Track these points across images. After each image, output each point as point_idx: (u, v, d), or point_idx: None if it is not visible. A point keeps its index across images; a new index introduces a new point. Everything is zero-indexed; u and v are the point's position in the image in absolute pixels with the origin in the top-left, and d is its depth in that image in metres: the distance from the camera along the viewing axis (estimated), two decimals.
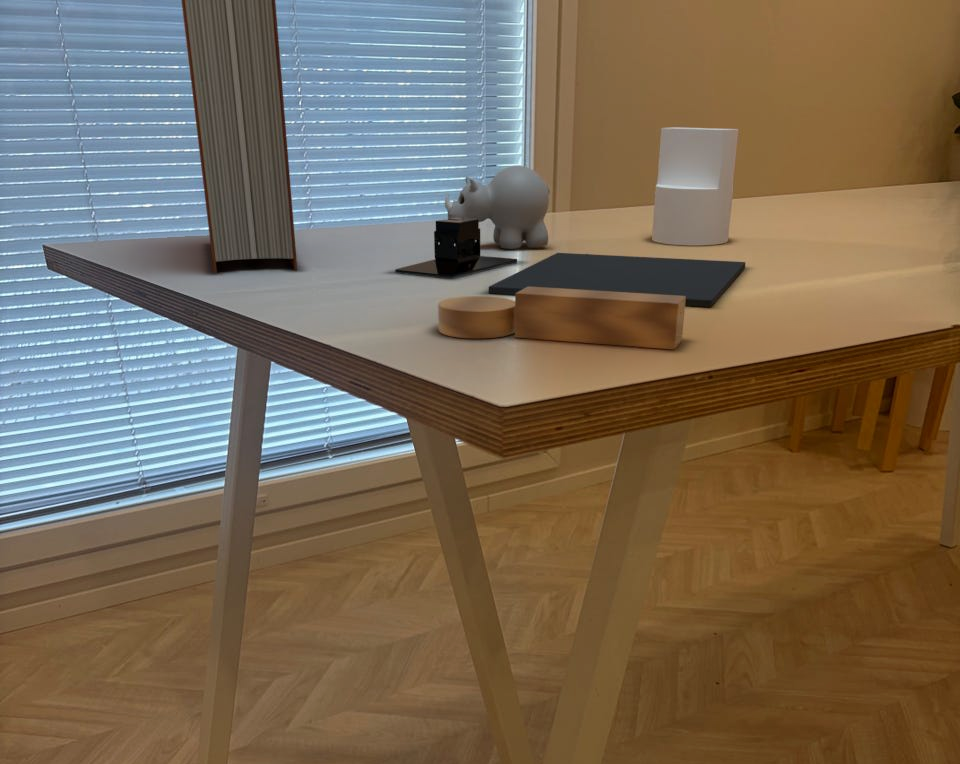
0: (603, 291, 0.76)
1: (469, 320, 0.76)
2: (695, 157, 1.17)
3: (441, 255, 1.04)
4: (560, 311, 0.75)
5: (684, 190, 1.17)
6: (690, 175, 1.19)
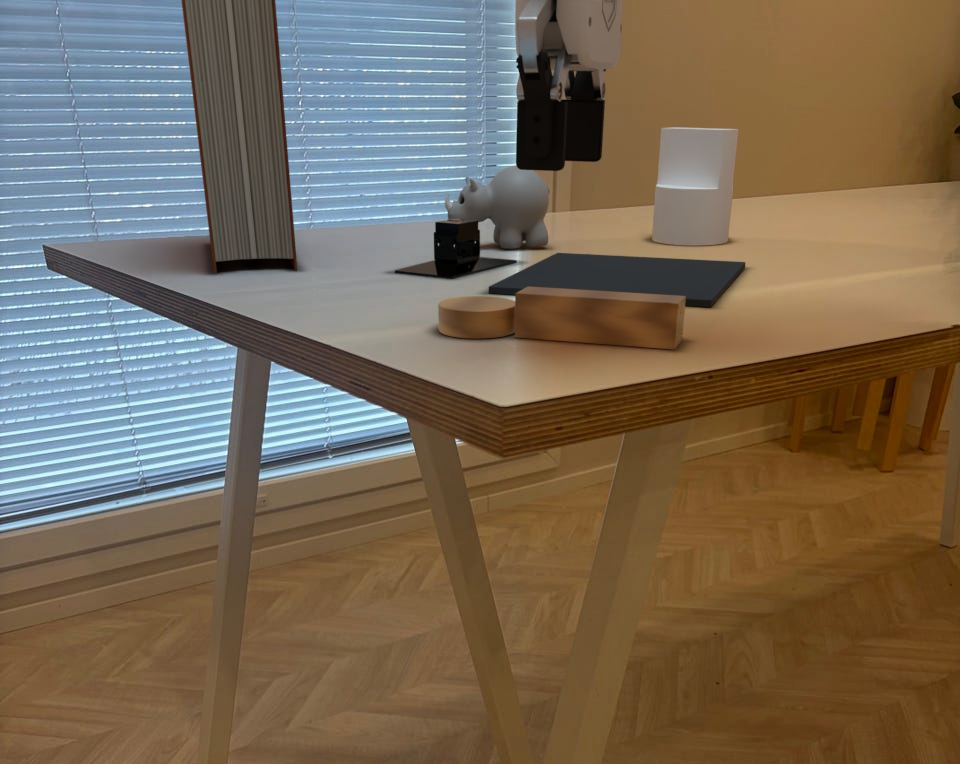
0: (603, 291, 0.76)
1: (469, 320, 0.76)
2: (695, 157, 1.17)
3: (440, 257, 1.04)
4: (560, 311, 0.75)
5: (684, 190, 1.17)
6: (690, 175, 1.19)
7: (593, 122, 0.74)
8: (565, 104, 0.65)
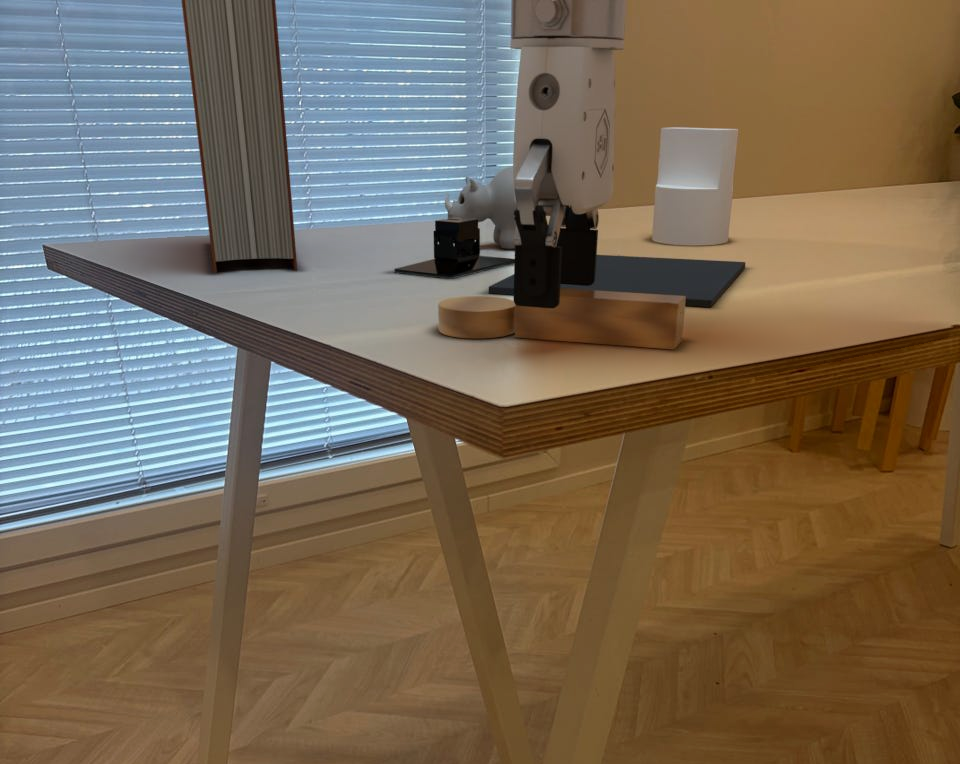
0: (603, 291, 0.76)
1: (469, 320, 0.76)
2: (695, 157, 1.17)
3: (440, 255, 1.04)
4: (560, 311, 0.75)
5: (684, 190, 1.17)
6: (690, 175, 1.19)
7: (587, 250, 0.78)
8: (560, 249, 0.69)
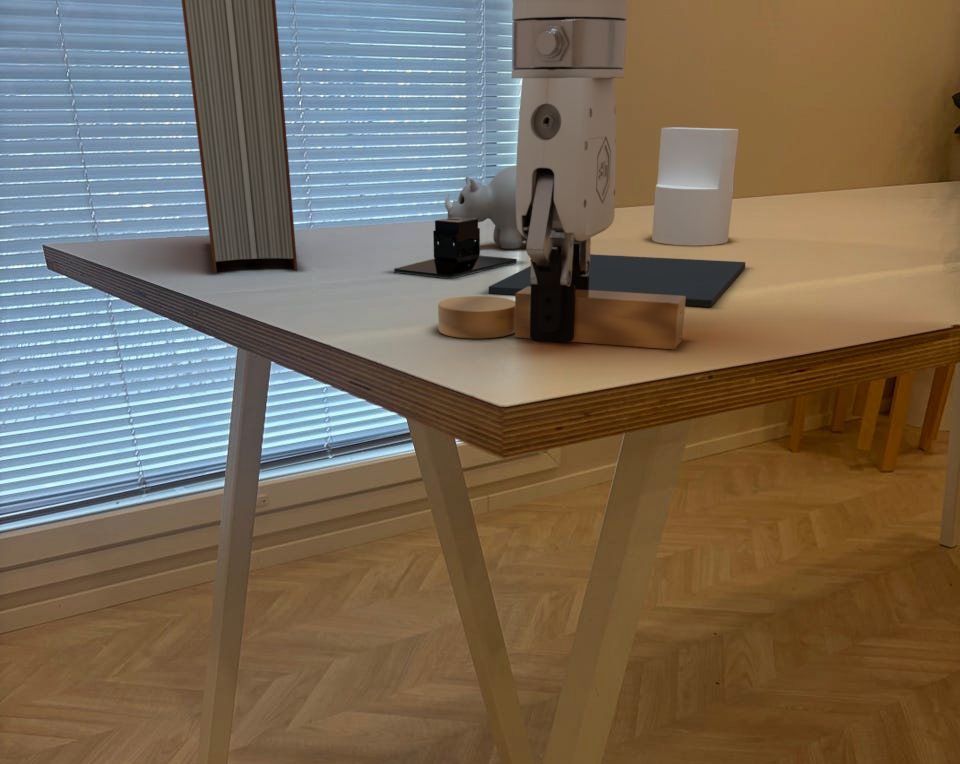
0: (603, 291, 0.76)
1: (469, 320, 0.76)
2: (695, 157, 1.17)
3: (440, 255, 1.04)
4: None
5: (684, 190, 1.17)
6: (690, 175, 1.19)
7: None
8: (574, 288, 0.73)
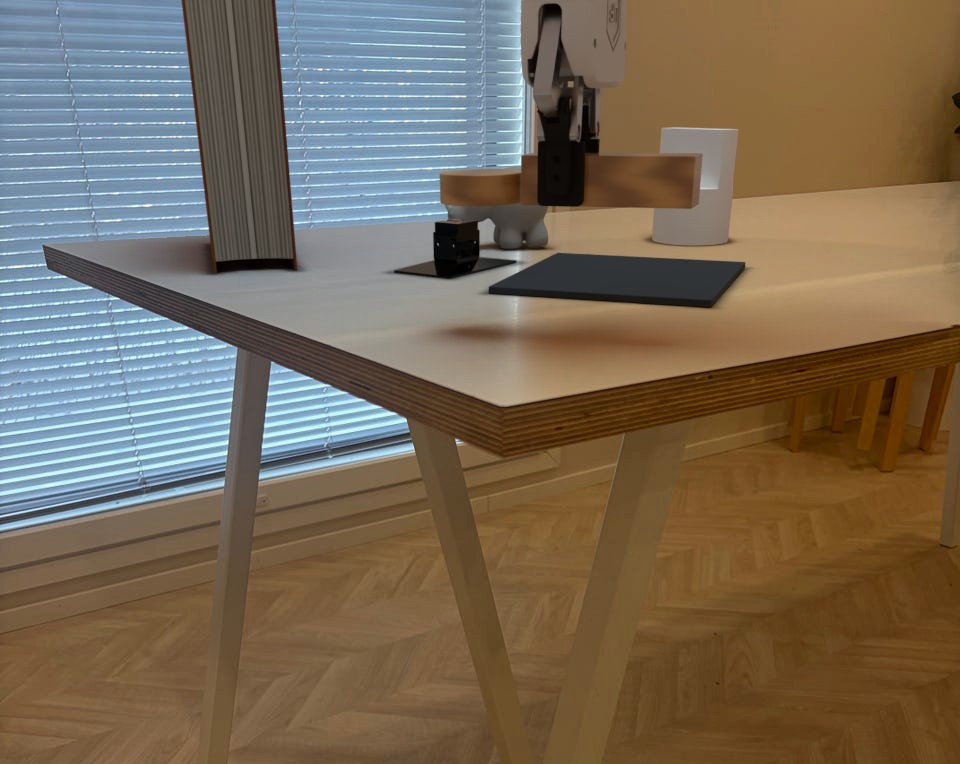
0: (614, 153, 0.71)
1: (473, 186, 0.71)
2: None
3: (440, 257, 1.04)
4: None
5: None
6: None
7: None
8: (583, 144, 0.69)
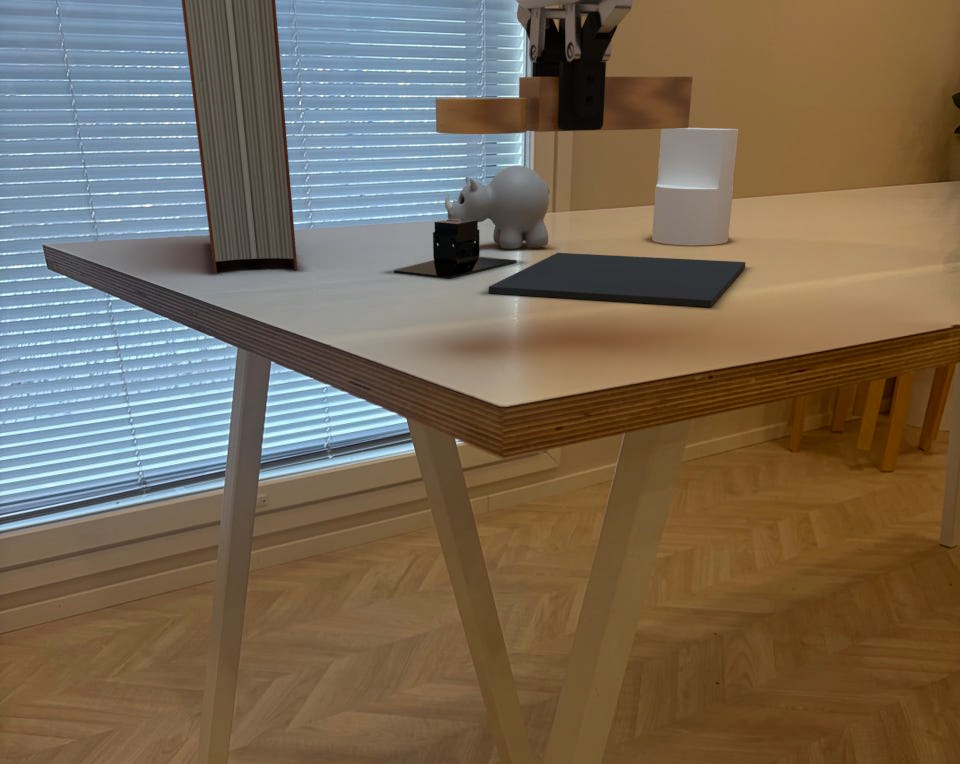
0: None
1: (507, 111, 0.65)
2: (695, 157, 1.17)
3: (440, 257, 1.04)
4: None
5: (684, 190, 1.17)
6: (690, 175, 1.19)
7: None
8: (605, 64, 0.67)
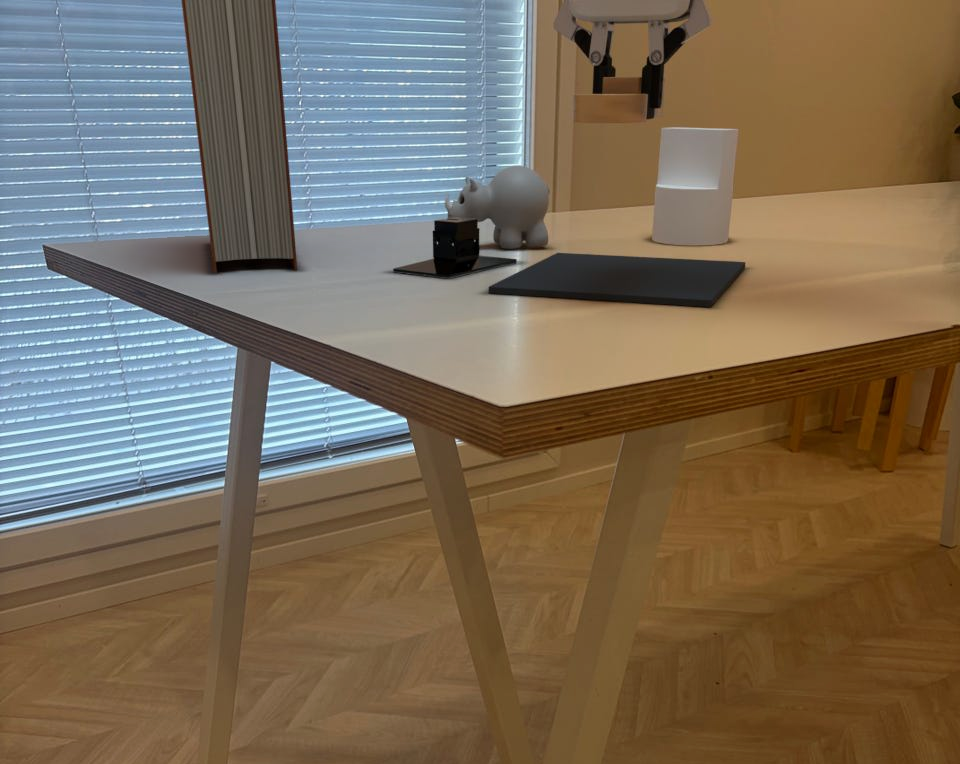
0: None
1: None
2: (695, 157, 1.17)
3: (439, 255, 1.04)
4: None
5: (684, 190, 1.17)
6: (690, 175, 1.19)
7: None
8: None
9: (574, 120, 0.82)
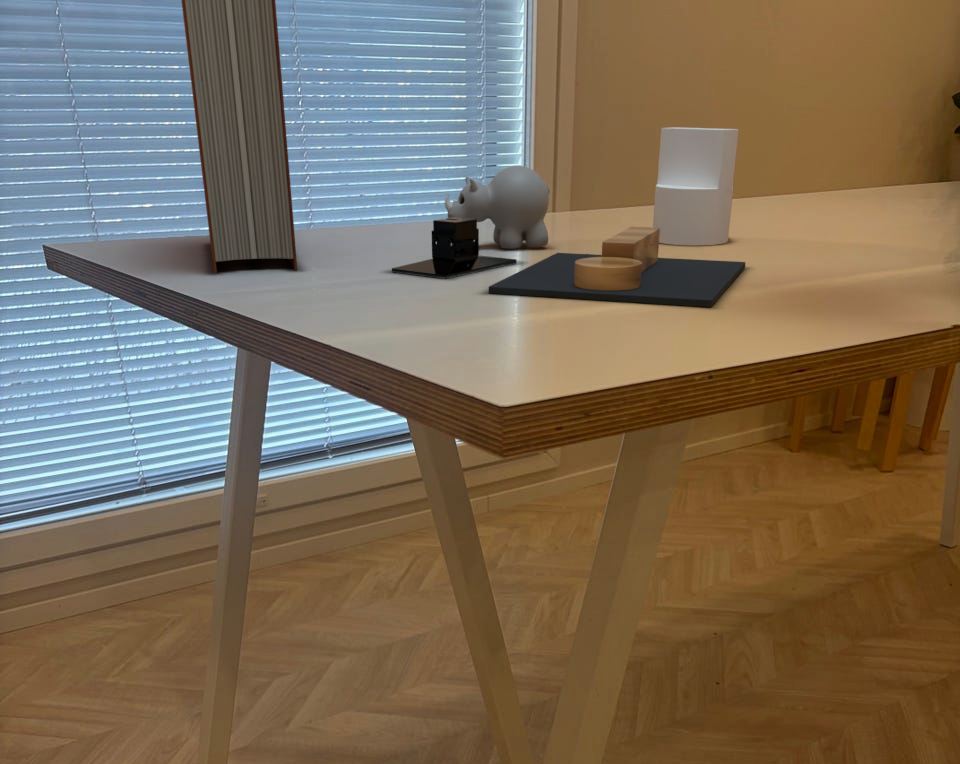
0: (620, 233, 0.99)
1: (641, 271, 0.92)
2: (695, 157, 1.17)
3: (438, 255, 1.04)
4: (641, 250, 0.97)
5: (684, 190, 1.17)
6: (690, 175, 1.19)
7: None
8: None
9: (576, 285, 0.92)
